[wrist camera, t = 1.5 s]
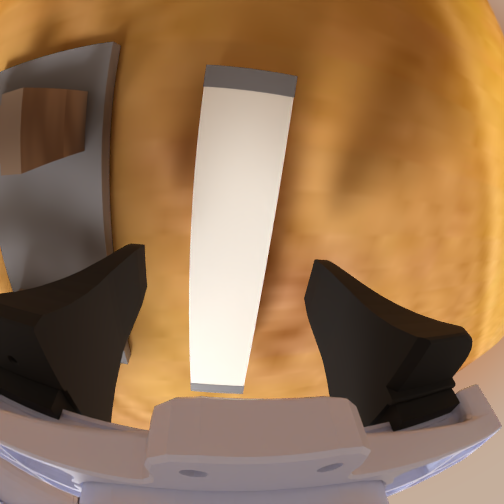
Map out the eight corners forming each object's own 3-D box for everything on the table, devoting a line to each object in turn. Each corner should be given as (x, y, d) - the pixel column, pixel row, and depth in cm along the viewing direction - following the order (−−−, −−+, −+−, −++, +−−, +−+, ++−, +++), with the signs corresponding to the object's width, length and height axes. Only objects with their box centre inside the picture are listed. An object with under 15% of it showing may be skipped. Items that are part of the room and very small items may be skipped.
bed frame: (130, 354, 18) (111, 420, 13) (38, 334, 17) (8, 385, 12) (120, 45, 10) (58, 13, 4) (2, 75, 8) (-65, 78, 3)
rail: (239, 346, 19) (242, 393, 15) (195, 343, 18) (190, 390, 15) (278, 88, 11) (297, 76, 8) (213, 80, 11) (206, 64, 8)
